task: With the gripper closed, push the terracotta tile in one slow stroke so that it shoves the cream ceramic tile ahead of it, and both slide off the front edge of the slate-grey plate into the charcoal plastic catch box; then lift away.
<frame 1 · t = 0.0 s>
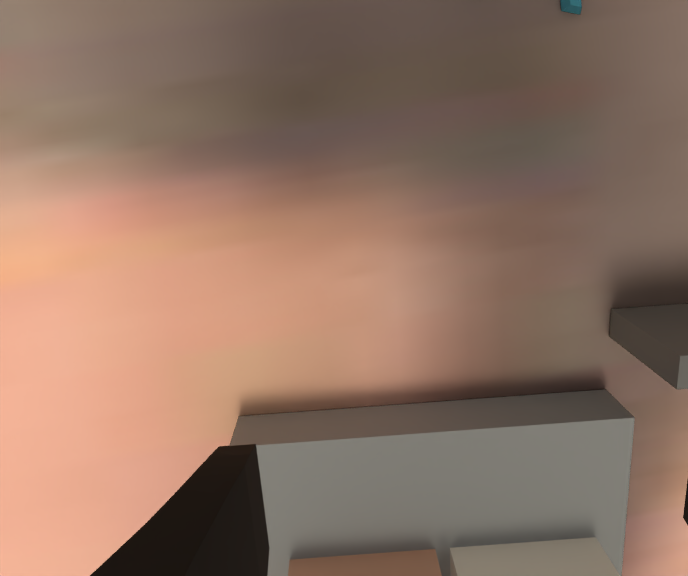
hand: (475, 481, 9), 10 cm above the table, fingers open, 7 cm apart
slate plate: (427, 564, 22), on the table
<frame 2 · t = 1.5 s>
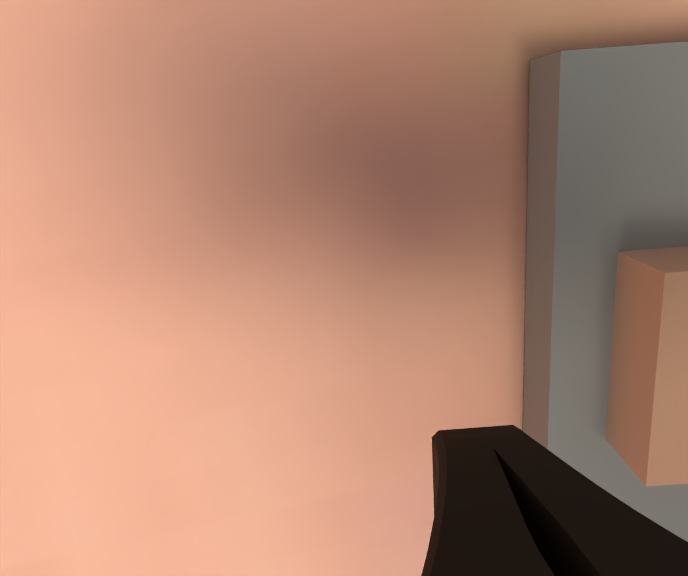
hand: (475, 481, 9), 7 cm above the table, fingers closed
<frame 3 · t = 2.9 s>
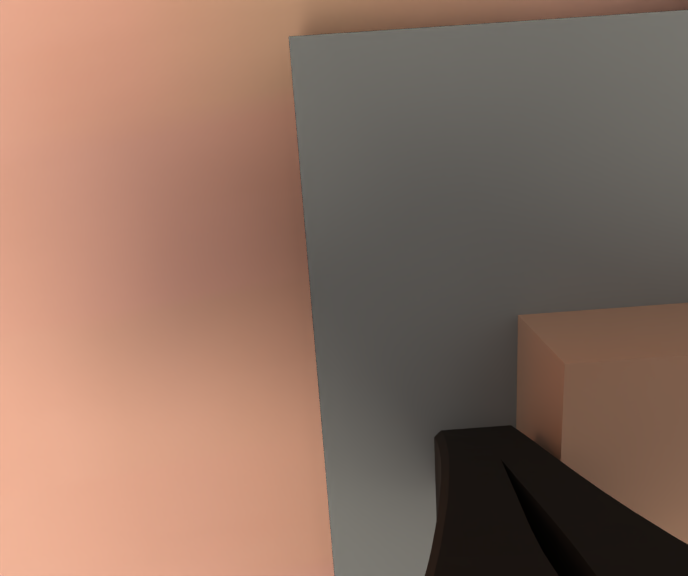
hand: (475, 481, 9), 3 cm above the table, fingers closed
terracotta tile: (655, 436, 10), point 2 cm above the table, touching cream tile, gripper
slate plate: (630, 385, 12), on the table
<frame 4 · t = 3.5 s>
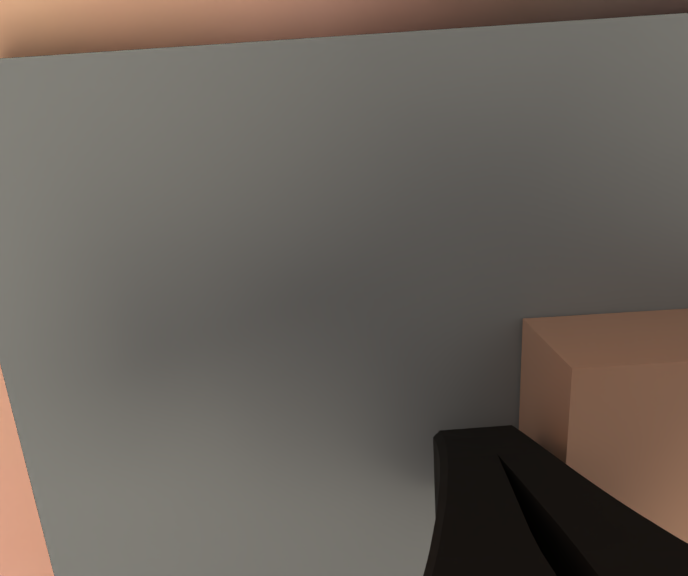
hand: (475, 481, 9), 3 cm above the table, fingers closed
terracotta tile: (656, 441, 10), point 2 cm above the table, touching gripper, slate plate
slate plate: (382, 403, 12), on the table
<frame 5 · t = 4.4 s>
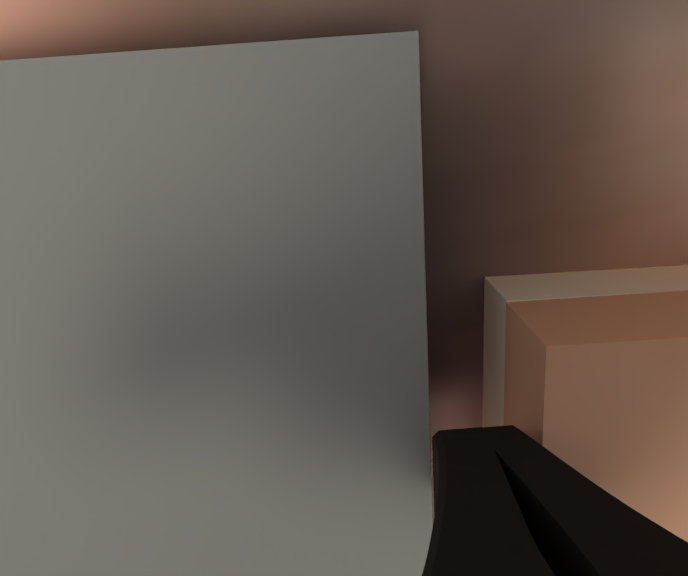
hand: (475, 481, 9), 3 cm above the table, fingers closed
cream tile: (590, 373, 13), on the table
terracotta tile: (636, 420, 11), point 2 cm above the table, touching gripper
slate plate: (110, 422, 12), on the table
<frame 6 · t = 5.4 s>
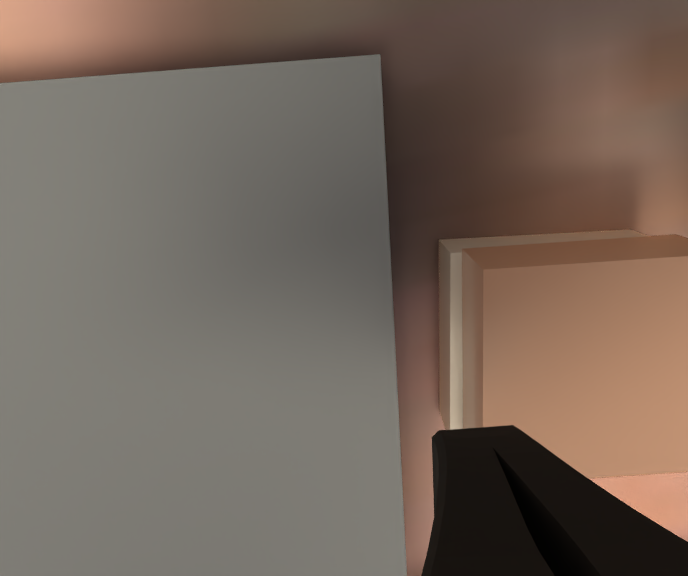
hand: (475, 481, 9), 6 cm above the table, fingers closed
cream tile: (525, 319, 16), on the table, touching terracotta tile
terracotta tile: (564, 341, 14), point 1 cm above the table, touching cream tile
slate plate: (150, 356, 16), on the table
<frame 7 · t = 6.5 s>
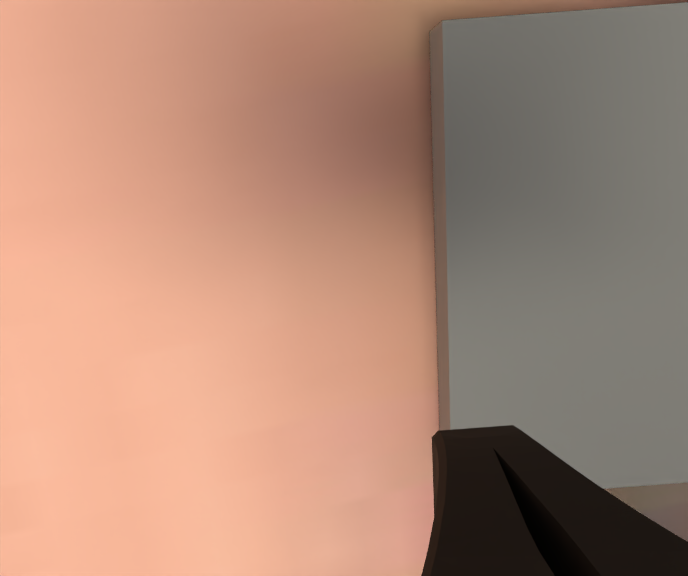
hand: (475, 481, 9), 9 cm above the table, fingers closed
slate plate: (640, 256, 18), on the table
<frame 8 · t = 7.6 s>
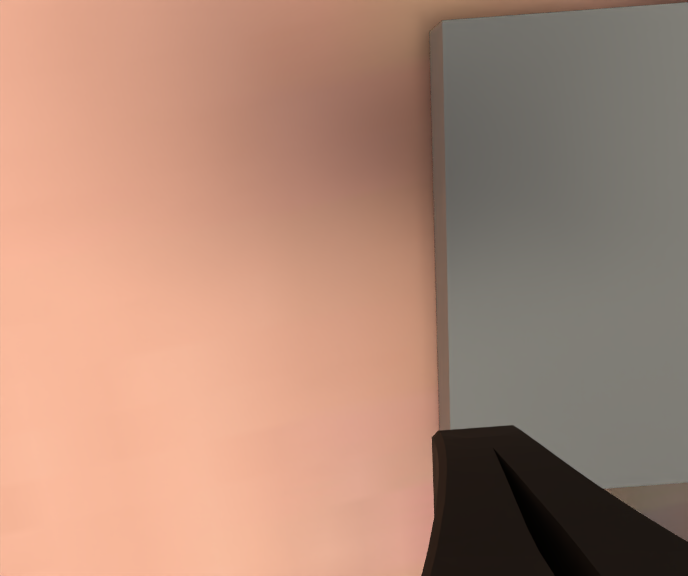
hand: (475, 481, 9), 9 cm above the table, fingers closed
slate plate: (640, 256, 18), on the table
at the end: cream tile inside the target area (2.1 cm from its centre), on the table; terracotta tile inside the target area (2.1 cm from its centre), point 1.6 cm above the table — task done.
